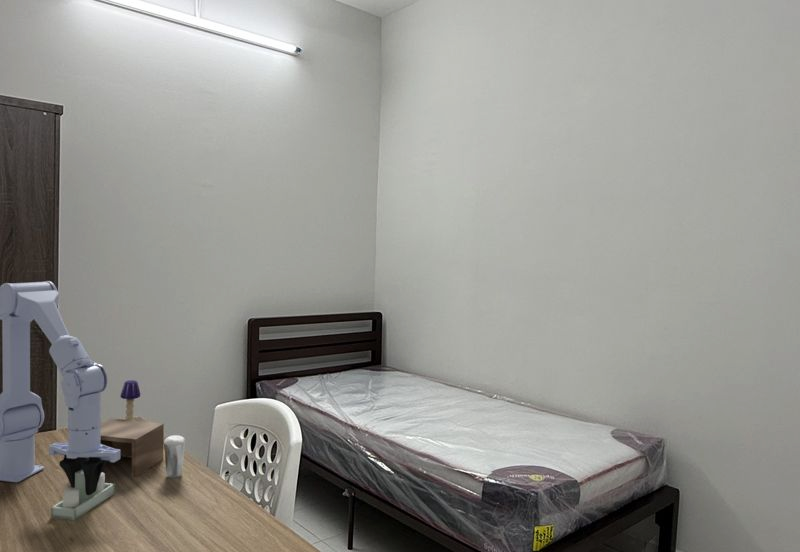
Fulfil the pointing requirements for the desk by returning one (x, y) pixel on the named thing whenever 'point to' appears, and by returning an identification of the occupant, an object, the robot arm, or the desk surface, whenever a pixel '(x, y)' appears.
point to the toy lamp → (130, 396)
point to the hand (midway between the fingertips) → (84, 492)
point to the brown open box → (135, 441)
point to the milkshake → (174, 455)
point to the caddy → (81, 498)
